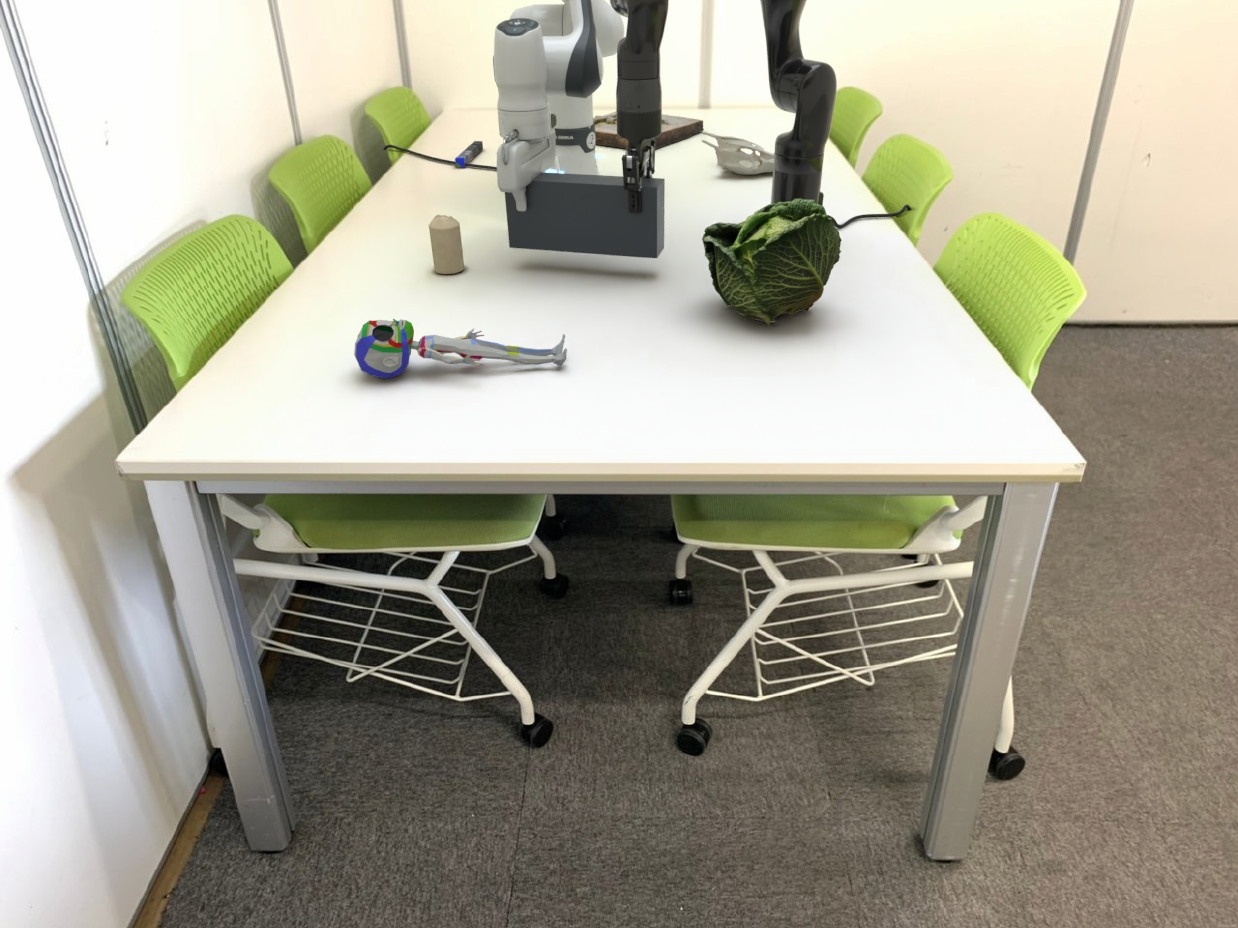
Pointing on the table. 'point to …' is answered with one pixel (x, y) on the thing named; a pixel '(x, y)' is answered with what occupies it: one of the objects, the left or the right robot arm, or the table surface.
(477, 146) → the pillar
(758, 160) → the anatomical model
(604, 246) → the box
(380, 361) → the toy
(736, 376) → the table surface
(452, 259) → the candle
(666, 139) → the plaque
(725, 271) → the vegetable
